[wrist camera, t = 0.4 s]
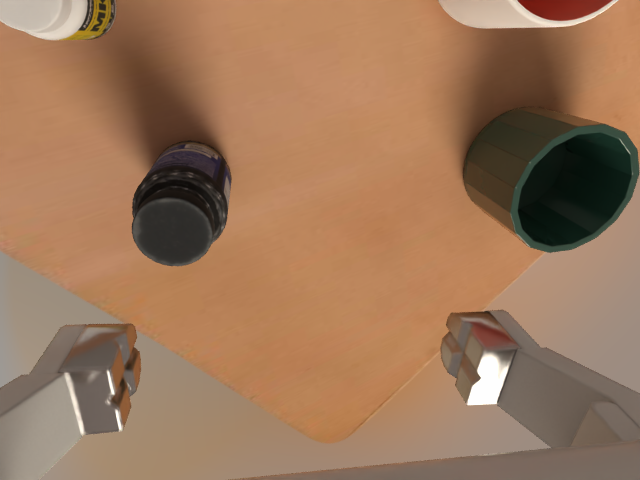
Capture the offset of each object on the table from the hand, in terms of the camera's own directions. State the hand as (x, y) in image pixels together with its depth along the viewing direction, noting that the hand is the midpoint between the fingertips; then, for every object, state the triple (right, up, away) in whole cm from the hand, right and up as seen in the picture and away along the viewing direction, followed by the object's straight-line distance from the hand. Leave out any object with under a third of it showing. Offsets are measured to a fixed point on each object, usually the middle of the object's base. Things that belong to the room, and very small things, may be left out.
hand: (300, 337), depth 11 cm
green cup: (+19, +10, +27) cm, 35 cm away
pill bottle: (-10, +8, +24) cm, 27 cm away
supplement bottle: (-16, +19, +17) cm, 30 cm away
